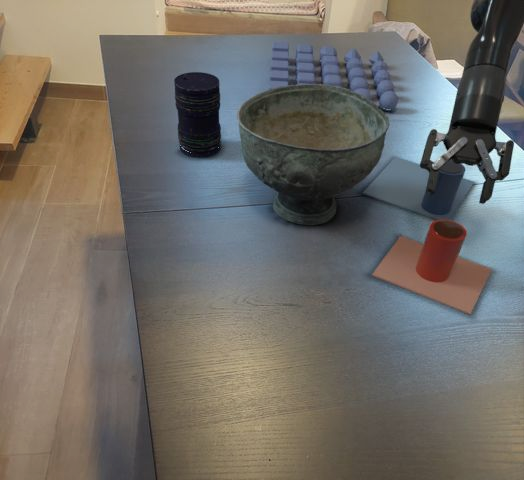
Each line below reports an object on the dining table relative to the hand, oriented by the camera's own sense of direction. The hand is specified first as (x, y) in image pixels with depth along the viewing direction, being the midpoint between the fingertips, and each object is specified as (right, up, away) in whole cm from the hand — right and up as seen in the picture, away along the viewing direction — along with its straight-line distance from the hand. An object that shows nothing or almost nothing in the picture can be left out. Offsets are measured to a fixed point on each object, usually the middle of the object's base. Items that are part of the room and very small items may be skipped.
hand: (456, 198), depth 87 cm
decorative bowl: (-25, +3, +18) cm, 31 cm away
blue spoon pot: (+3, +4, +20) cm, 21 cm away
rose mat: (-2, -12, +6) cm, 13 cm away
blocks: (-14, +51, +61) cm, 81 cm away
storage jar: (-48, +22, +33) cm, 62 cm away
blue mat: (+1, +10, +25) cm, 27 cm away
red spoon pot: (-2, -11, +6) cm, 13 cm away
